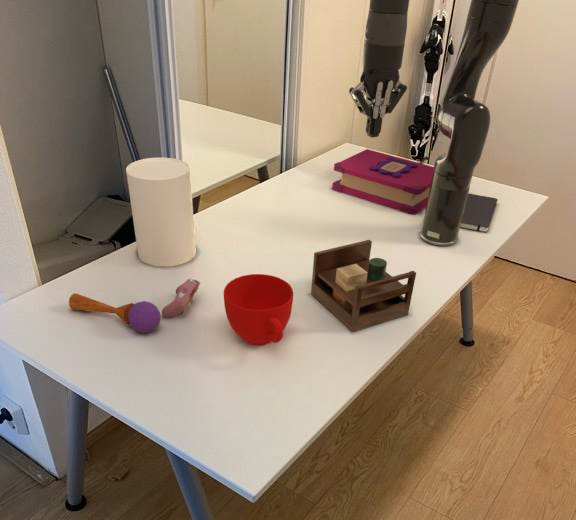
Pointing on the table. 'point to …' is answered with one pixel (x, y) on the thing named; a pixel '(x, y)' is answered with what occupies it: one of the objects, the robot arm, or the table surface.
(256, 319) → the ceramic cup
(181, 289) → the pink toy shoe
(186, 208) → the canister
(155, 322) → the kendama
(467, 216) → the notebook
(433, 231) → the robot arm
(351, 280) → the rack
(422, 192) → the book
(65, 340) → the table surface
